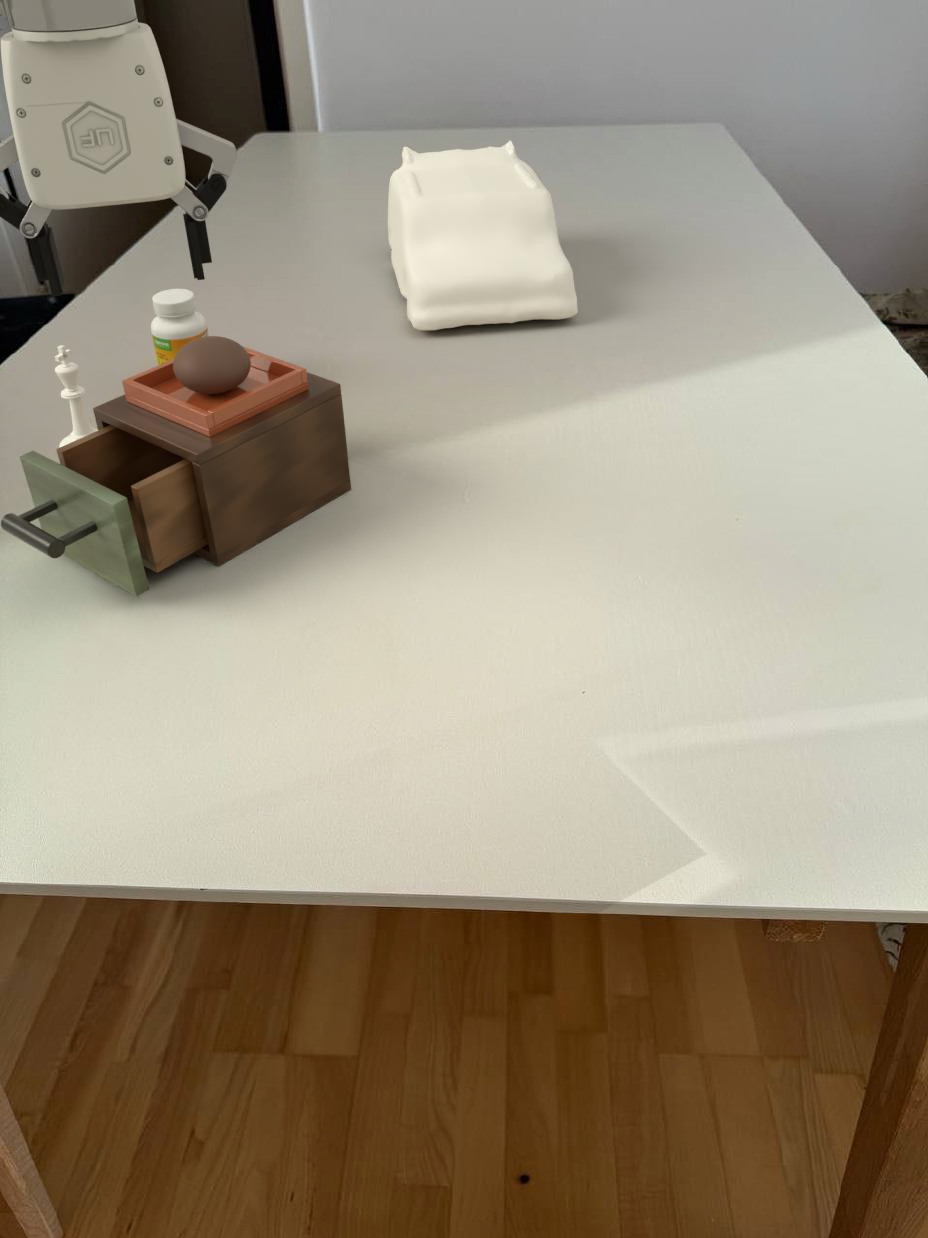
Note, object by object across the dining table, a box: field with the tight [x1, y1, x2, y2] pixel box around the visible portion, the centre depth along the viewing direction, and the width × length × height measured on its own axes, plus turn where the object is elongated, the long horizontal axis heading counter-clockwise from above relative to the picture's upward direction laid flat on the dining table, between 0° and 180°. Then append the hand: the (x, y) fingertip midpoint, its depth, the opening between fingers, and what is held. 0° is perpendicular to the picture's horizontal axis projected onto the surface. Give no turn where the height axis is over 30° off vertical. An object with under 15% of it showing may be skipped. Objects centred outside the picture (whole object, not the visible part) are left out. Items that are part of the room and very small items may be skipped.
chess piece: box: [54, 344, 98, 448], centre depth 98 cm, size 5×5×10 cm
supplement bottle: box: [150, 288, 210, 366], centre depth 108 cm, size 5×5×10 cm
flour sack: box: [387, 140, 579, 331], centre depth 128 cm, size 19×30×13 cm, turn 9°
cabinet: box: [92, 371, 352, 567], centre depth 90 cm, size 15×13×10 cm
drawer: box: [0, 425, 208, 598], centre depth 84 cm, size 18×12×8 cm, turn 141°
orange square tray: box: [121, 345, 309, 437], centre depth 87 cm, size 10×10×2 cm
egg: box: [173, 335, 251, 394], centre depth 86 cm, size 6×6×4 cm
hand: (129, 281), depth 77 cm, fingers open, 9 cm apart
